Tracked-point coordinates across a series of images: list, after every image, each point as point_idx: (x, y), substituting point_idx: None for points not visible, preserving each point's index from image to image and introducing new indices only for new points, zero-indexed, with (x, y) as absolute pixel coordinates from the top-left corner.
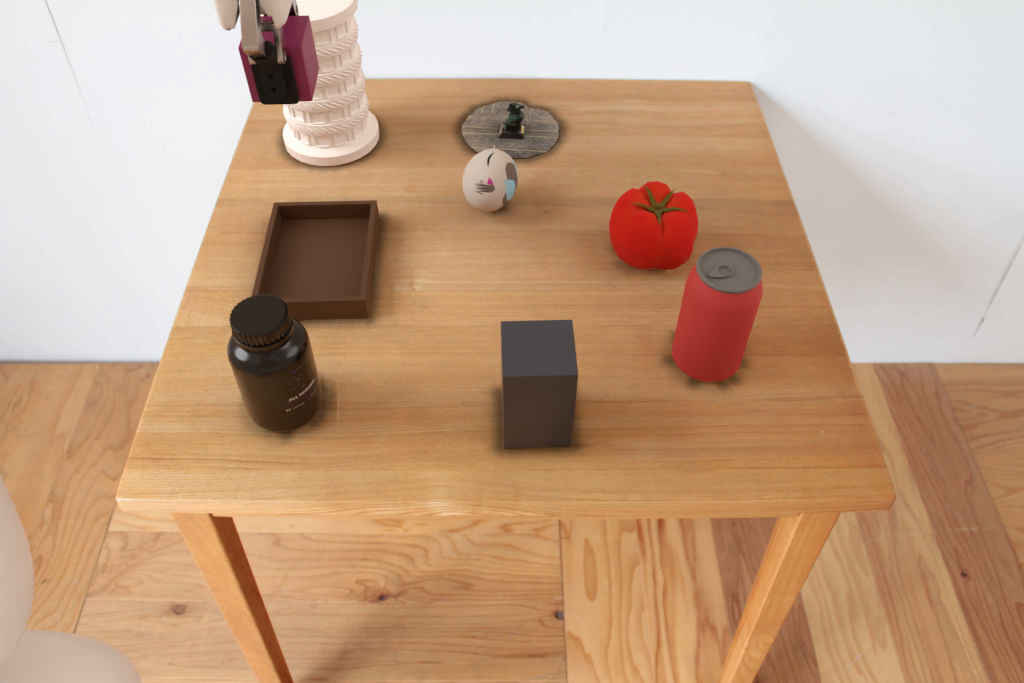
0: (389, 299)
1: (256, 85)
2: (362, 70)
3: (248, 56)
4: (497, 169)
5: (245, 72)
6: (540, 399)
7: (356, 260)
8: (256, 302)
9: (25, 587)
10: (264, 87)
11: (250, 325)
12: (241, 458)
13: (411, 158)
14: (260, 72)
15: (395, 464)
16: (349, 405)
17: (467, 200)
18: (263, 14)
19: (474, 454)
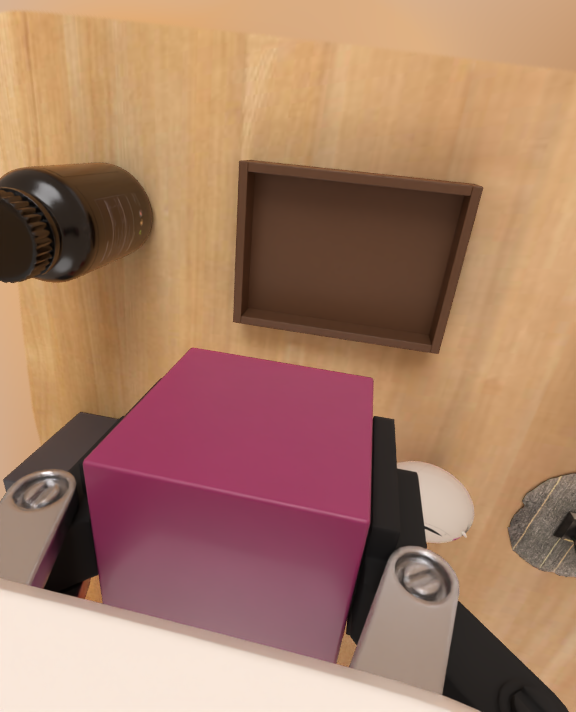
0: (272, 337)
1: (132, 408)
2: None
3: (5, 498)
4: None
5: (143, 400)
6: None
7: (340, 306)
8: (17, 234)
9: None
10: (104, 435)
11: None
12: (41, 158)
13: (570, 398)
14: (71, 470)
15: (54, 320)
16: (117, 281)
17: (399, 464)
18: (386, 570)
19: (72, 388)
